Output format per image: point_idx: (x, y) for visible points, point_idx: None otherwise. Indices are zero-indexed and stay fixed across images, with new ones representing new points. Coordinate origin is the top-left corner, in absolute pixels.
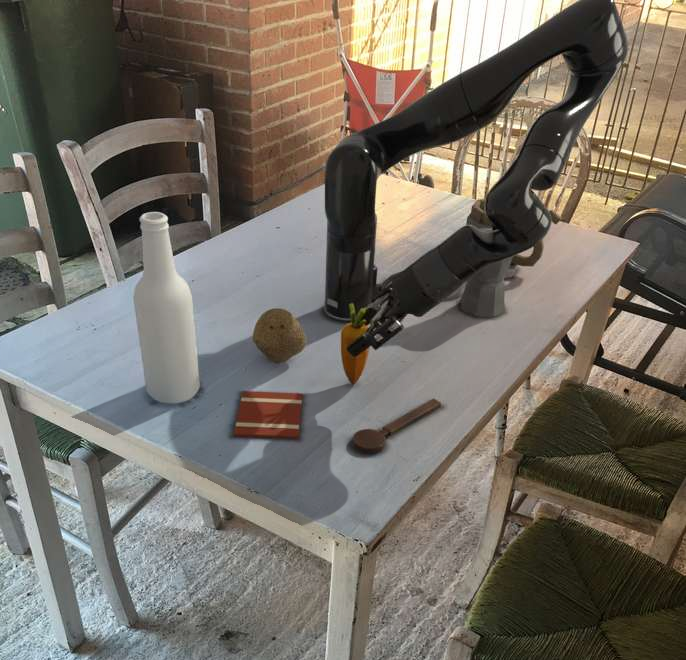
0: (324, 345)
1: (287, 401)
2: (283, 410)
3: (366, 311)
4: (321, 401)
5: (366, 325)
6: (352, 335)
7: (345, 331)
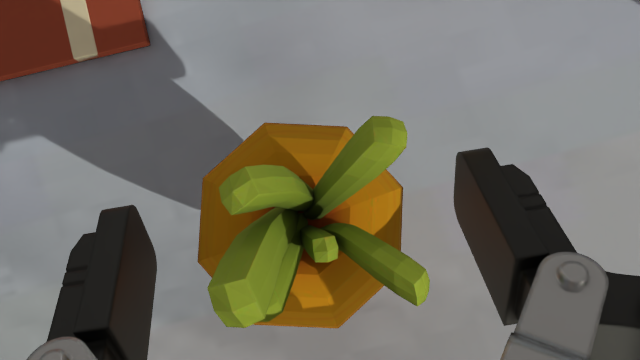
0: (571, 21)
1: (71, 1)
2: (5, 6)
3: (513, 256)
4: (137, 131)
5: (475, 257)
6: (204, 219)
7: (236, 156)
